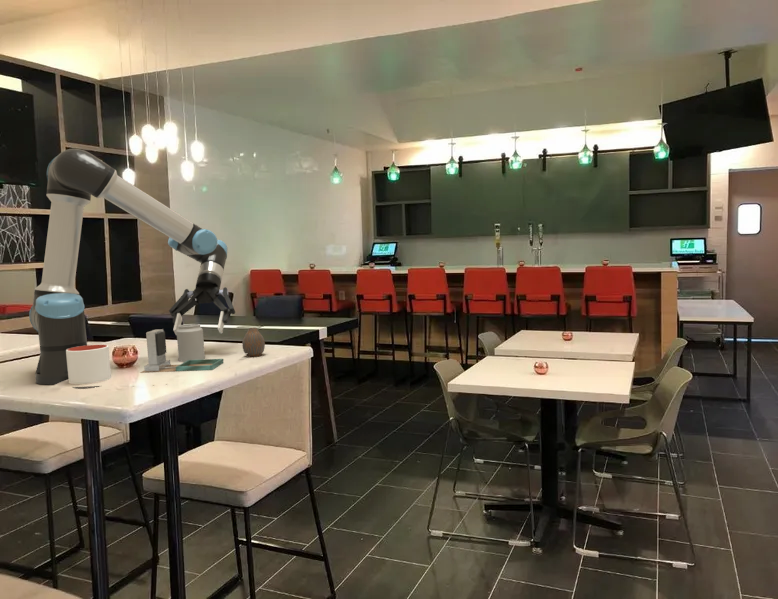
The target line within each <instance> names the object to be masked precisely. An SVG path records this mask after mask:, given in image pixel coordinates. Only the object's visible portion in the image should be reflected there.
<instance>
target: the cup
mask: <svg viewBox="0 0 778 599" xmlns="http://www.w3.org/2000/svg"><path fill="white" fill-rule="evenodd" d="M66 357H67V368H68V384H71V385H86V386H72V387H71V388H73V389H76V390H84V389H85V390H86V389H87V390H88V389H95V387H96V388H100V387H101V385H93V386H92V385H91V386H87V385H88V384H95V383H101V382H105V381H107V380H111V379H112V372H111V371H112V370H111V359H110V347H109V345H108V344H90V345H89V344H87V346H79V347H73V348H69V349H67V350H66Z"/></svg>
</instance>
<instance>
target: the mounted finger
mask: <svg viewBox="0 0 778 599" xmlns="http://www.w3.org/2000/svg"><path fill="white" fill-rule="evenodd" d="M145 334H146V335H145V336H146V346H147V347H146V348H147V358H148V359H147V361H148V364H146V365H144V370H145V372H150V373H154V372H153V371H161V370H163V369H164V368H165V367H169V366H170V365H171V360H170V359H167V358H166V353H167V344H166V331H165V330H164V328H162V329H152V330H150V331H147V332H146V333H145Z"/></svg>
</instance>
